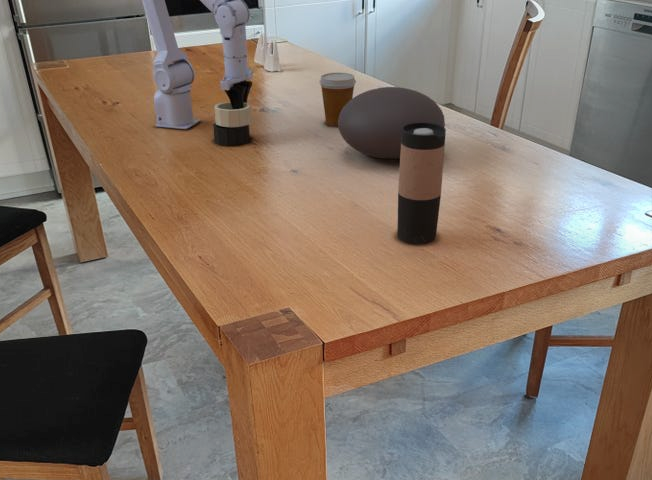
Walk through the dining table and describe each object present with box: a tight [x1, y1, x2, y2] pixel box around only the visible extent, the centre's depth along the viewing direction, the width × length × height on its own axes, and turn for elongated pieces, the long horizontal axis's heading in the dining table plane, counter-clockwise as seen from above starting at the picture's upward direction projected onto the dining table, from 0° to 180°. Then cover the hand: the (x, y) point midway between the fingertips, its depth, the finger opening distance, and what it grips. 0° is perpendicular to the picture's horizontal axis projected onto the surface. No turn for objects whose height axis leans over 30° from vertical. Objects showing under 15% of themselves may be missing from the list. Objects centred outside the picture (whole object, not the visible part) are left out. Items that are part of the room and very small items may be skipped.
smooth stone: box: [337, 86, 446, 160], centre depth 168 cm, size 25×25×15 cm
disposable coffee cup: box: [319, 72, 357, 127], centre depth 190 cm, size 10×10×12 cm
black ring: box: [212, 122, 251, 147], centre depth 181 cm, size 9×9×4 cm
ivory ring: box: [214, 101, 252, 127], centre depth 178 cm, size 9×9×4 cm
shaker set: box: [253, 32, 282, 72], centre depth 243 cm, size 12×4×11 cm, turn 34°
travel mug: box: [397, 122, 447, 246], centre depth 128 cm, size 8×8×20 cm
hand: (239, 113), depth 182 cm, fingers closed on ivory ring
